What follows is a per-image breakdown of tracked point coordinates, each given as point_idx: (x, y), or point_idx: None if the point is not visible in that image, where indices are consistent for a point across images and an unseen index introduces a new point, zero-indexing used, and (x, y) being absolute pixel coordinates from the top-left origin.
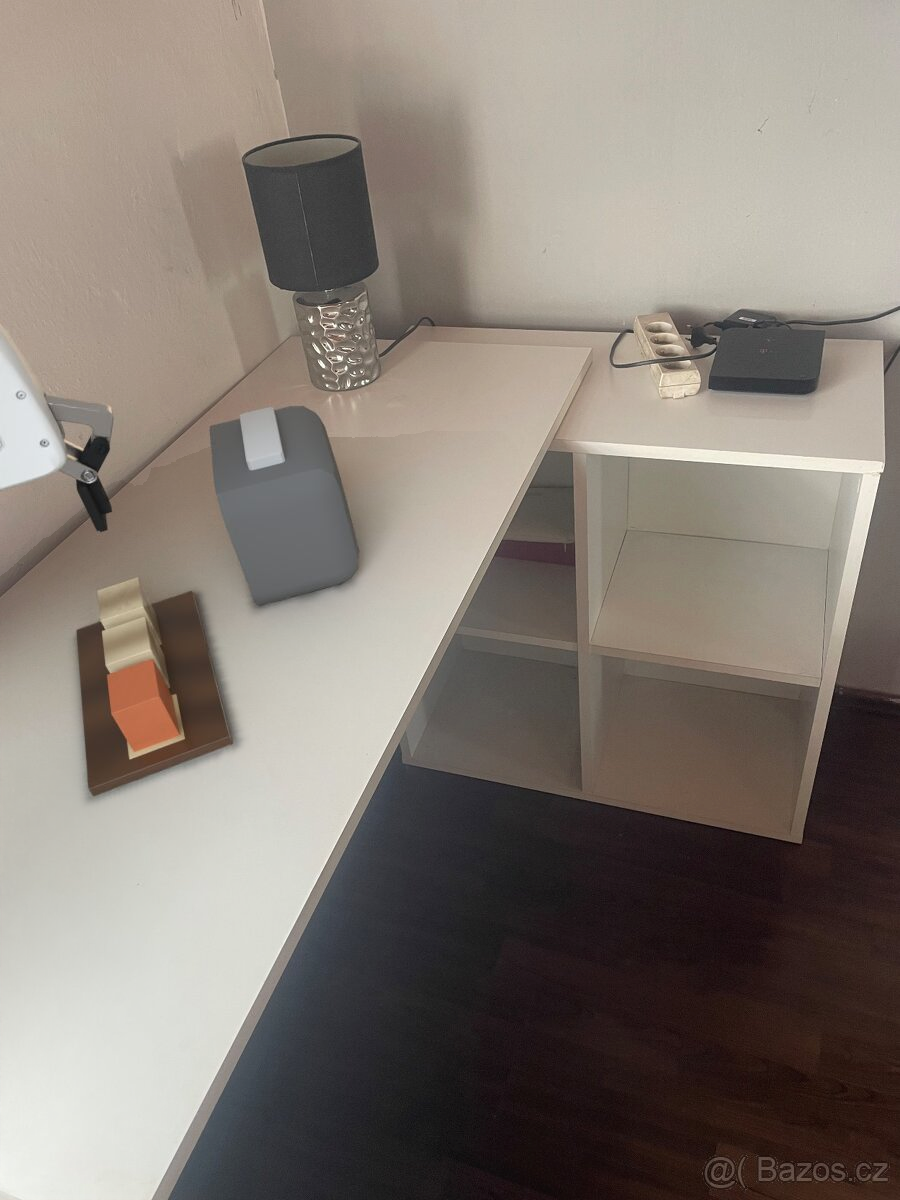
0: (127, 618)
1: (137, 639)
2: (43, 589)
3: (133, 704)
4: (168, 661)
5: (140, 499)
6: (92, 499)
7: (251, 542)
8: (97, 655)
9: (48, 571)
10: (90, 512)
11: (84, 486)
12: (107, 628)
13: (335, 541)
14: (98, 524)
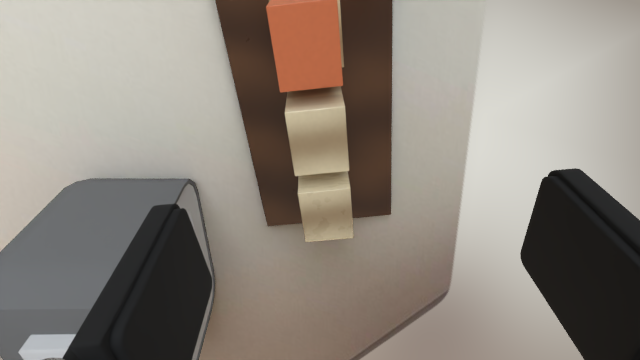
0: (320, 186)
1: (303, 138)
2: (419, 278)
3: (304, 5)
4: None
5: (324, 350)
6: (104, 292)
7: (133, 233)
8: (370, 170)
9: (413, 297)
10: (153, 255)
11: (75, 349)
12: (346, 180)
13: (44, 213)
14: (160, 219)
